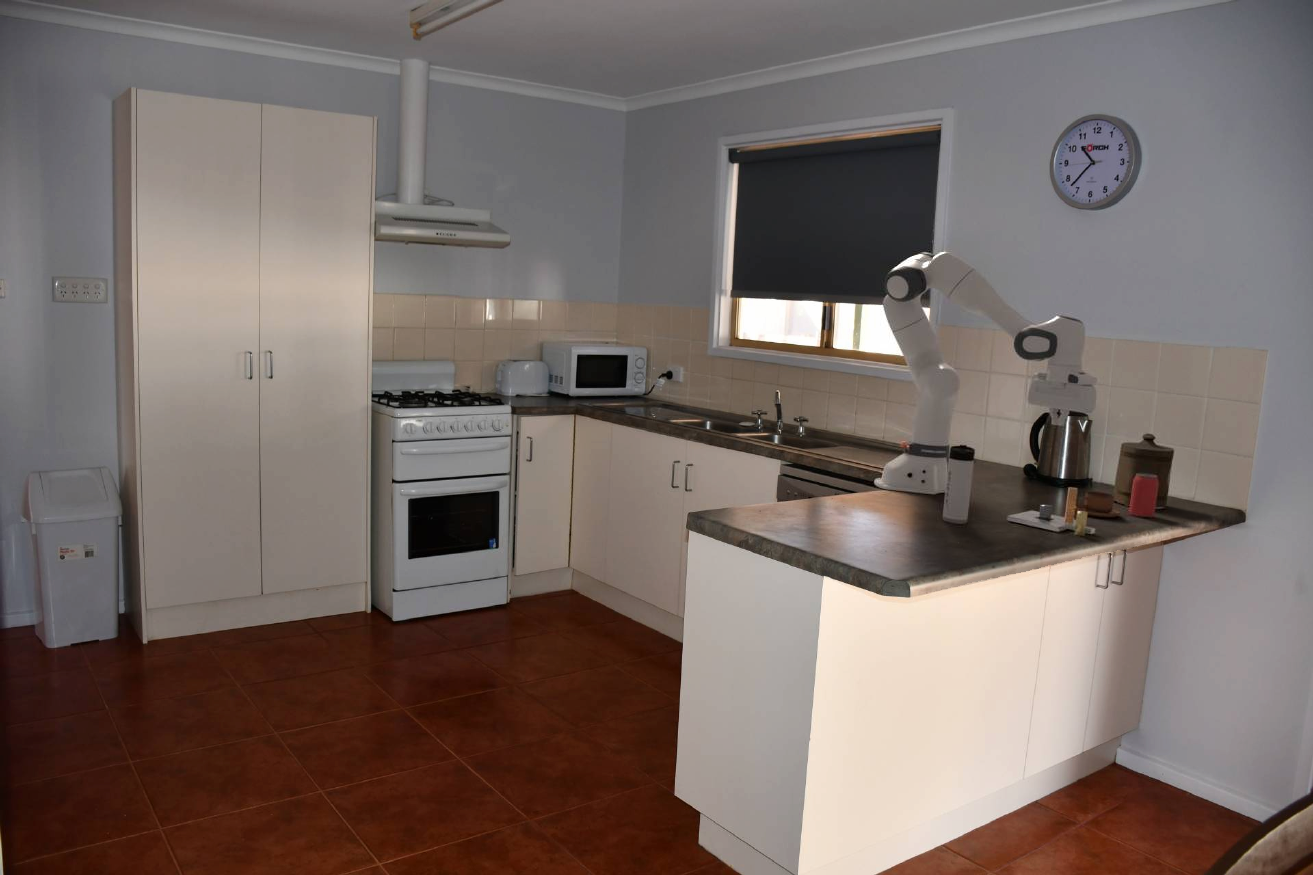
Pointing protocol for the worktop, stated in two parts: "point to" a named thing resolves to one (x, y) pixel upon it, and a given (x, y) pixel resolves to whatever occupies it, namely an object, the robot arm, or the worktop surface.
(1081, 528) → the brass dowel
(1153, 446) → the wooden container
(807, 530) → the worktop surface
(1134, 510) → the beer can
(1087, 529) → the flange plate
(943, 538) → the worktop surface
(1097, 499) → the cup and saucer
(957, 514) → the travel mug
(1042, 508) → the grey rectangular block
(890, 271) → the robot arm
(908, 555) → the worktop surface
